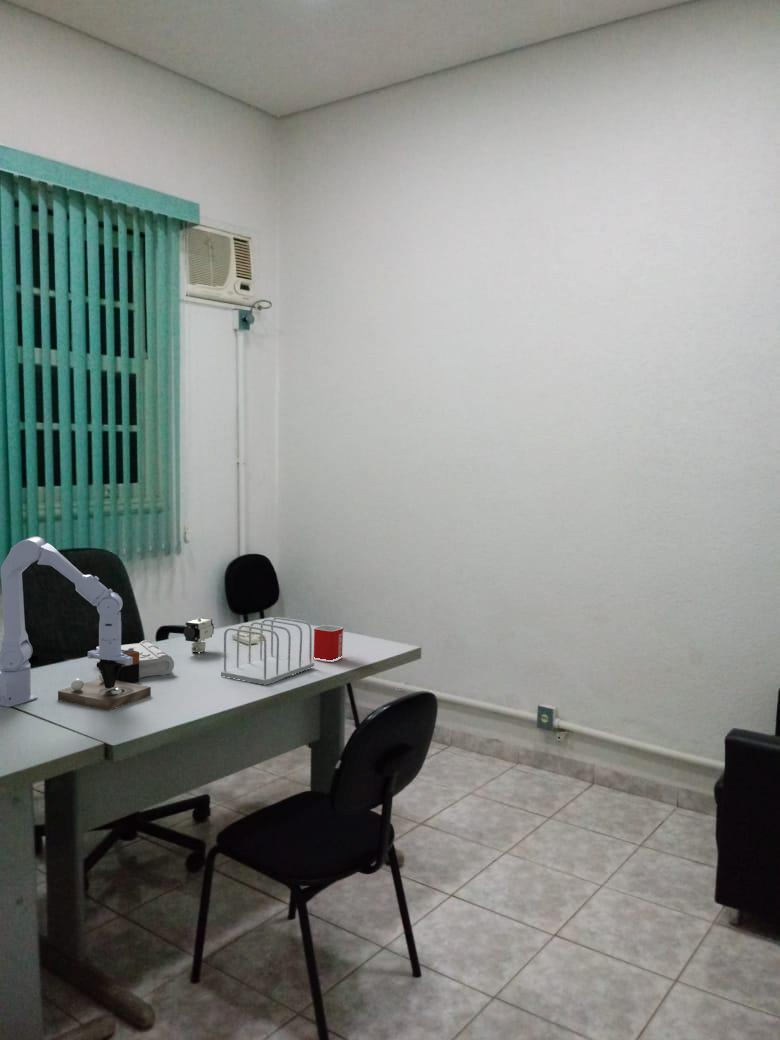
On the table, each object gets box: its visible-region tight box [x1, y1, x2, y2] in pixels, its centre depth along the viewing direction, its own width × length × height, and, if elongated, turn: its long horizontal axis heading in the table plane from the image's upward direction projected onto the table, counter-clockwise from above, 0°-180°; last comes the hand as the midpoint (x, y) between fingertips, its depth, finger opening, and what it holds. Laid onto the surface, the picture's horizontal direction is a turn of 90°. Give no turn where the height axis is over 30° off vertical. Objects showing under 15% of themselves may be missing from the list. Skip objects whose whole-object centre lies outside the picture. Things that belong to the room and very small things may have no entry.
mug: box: [313, 624, 344, 660], centre depth 280 cm, size 12×8×11 cm
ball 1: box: [70, 678, 85, 691], centre depth 225 cm, size 3×3×3 cm
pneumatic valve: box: [183, 616, 215, 653], centre depth 281 cm, size 6×12×12 cm, turn 160°
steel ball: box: [111, 688, 122, 694], centre depth 226 cm, size 3×3×3 cm
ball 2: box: [98, 672, 104, 682], centre depth 234 cm, size 3×3×3 cm
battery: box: [116, 648, 140, 684], centre depth 242 cm, size 4×7×10 cm, turn 143°
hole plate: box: [57, 678, 152, 712], centre depth 227 cm, size 16×18×2 cm
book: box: [95, 639, 175, 678], centre depth 260 cm, size 19×28×8 cm
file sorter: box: [220, 616, 315, 686], centre depth 259 cm, size 25×17×16 cm
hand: (109, 687), depth 226 cm, fingers closed
